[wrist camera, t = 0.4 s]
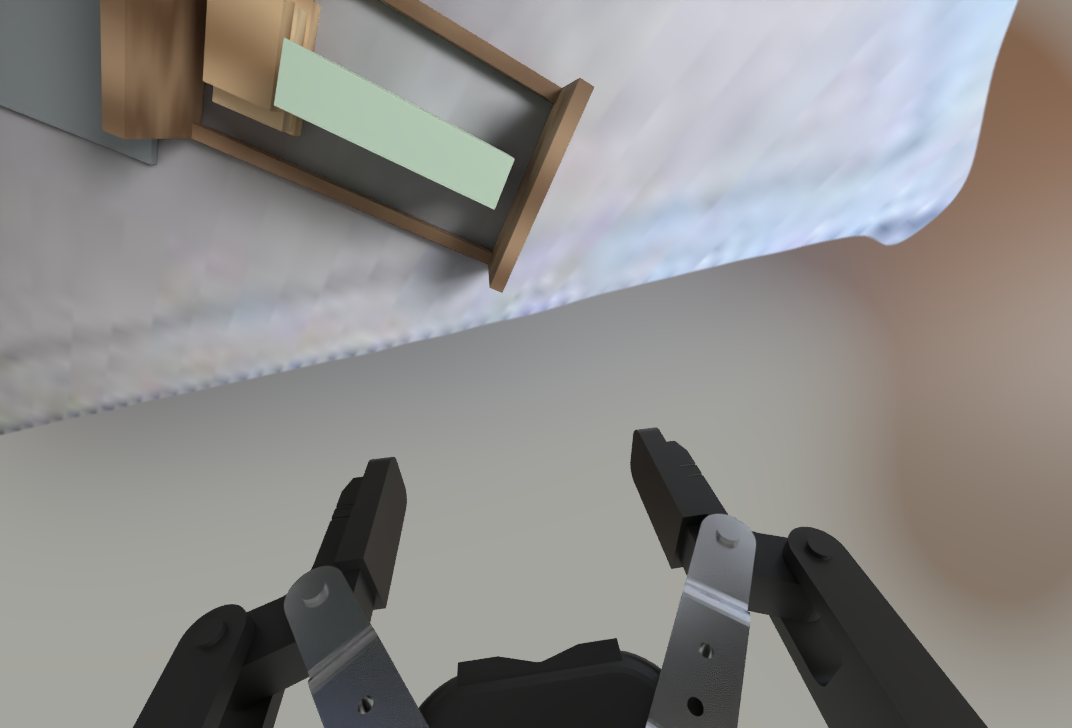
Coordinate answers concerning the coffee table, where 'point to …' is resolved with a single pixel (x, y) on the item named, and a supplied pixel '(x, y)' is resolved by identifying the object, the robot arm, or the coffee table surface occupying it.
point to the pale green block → (388, 125)
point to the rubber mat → (59, 69)
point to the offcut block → (255, 54)
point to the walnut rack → (176, 113)
